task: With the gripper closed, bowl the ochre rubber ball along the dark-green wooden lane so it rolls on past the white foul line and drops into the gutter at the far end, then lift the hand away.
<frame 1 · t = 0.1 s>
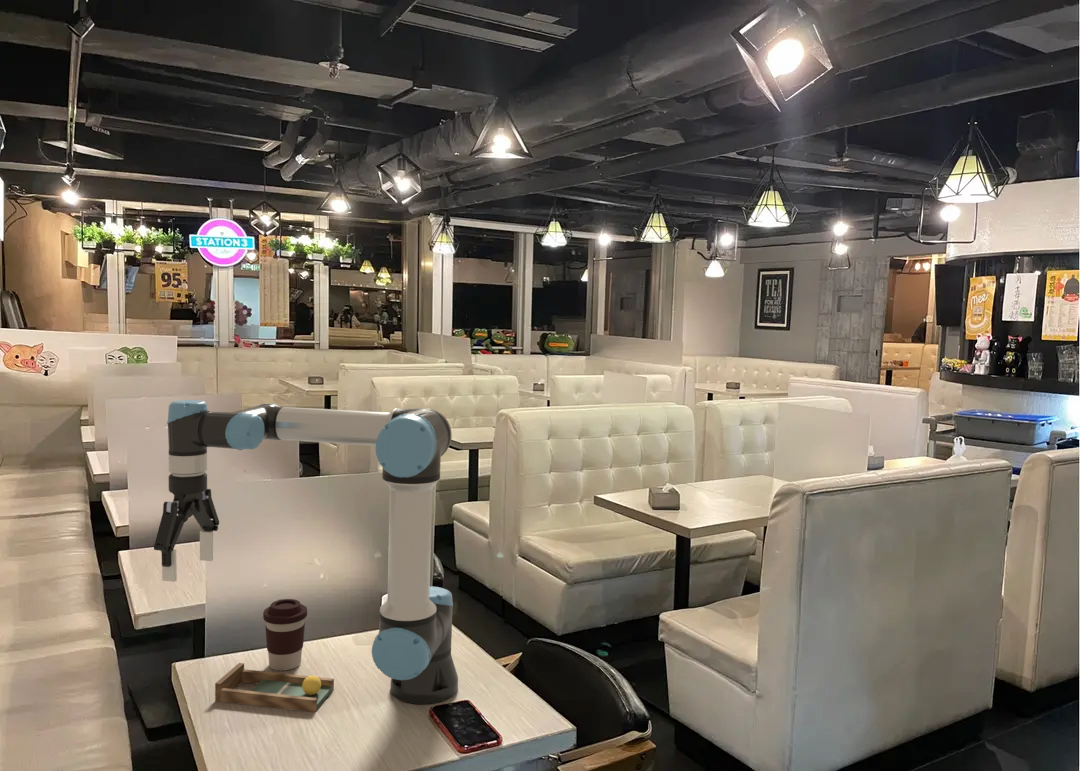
hand: (188, 570, 169), 28 cm above the table, fingers open, 13 cm apart
lane: (277, 695, 173), on the table
ball: (311, 685, 171), point 3 cm above the table, touching lane
coffee cup: (285, 665, 188), on the table
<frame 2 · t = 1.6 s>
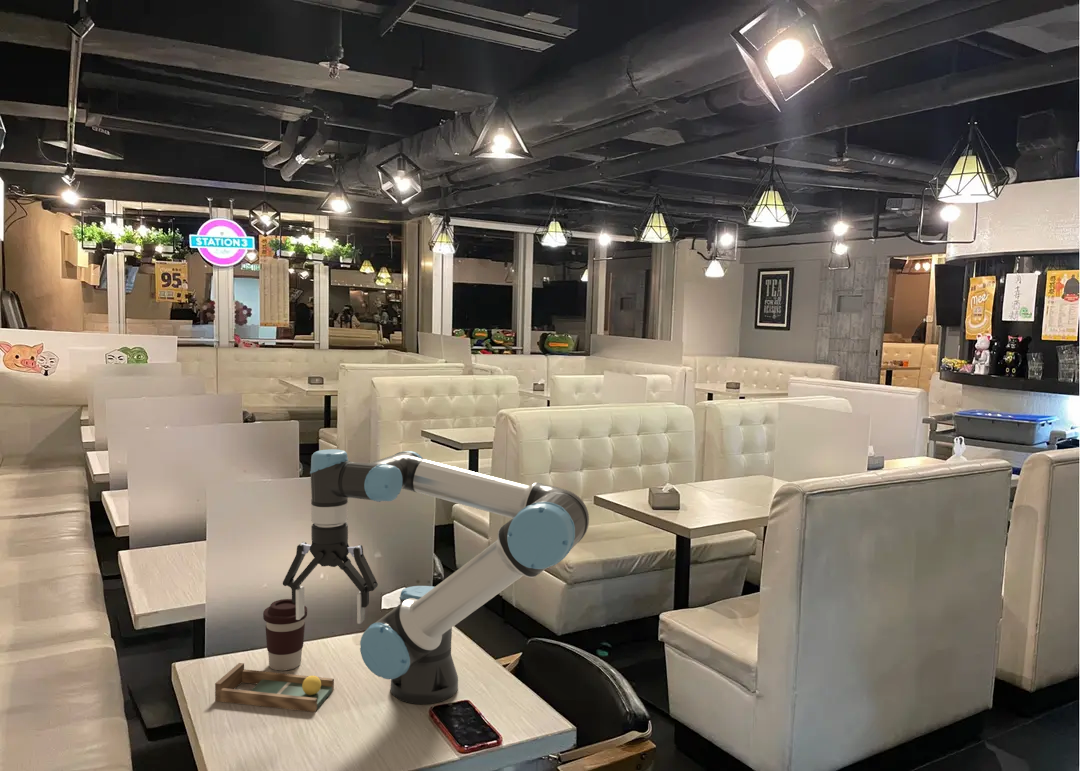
hand: (330, 619, 169), 19 cm above the table, fingers open, 13 cm apart
nothing on the table moved.
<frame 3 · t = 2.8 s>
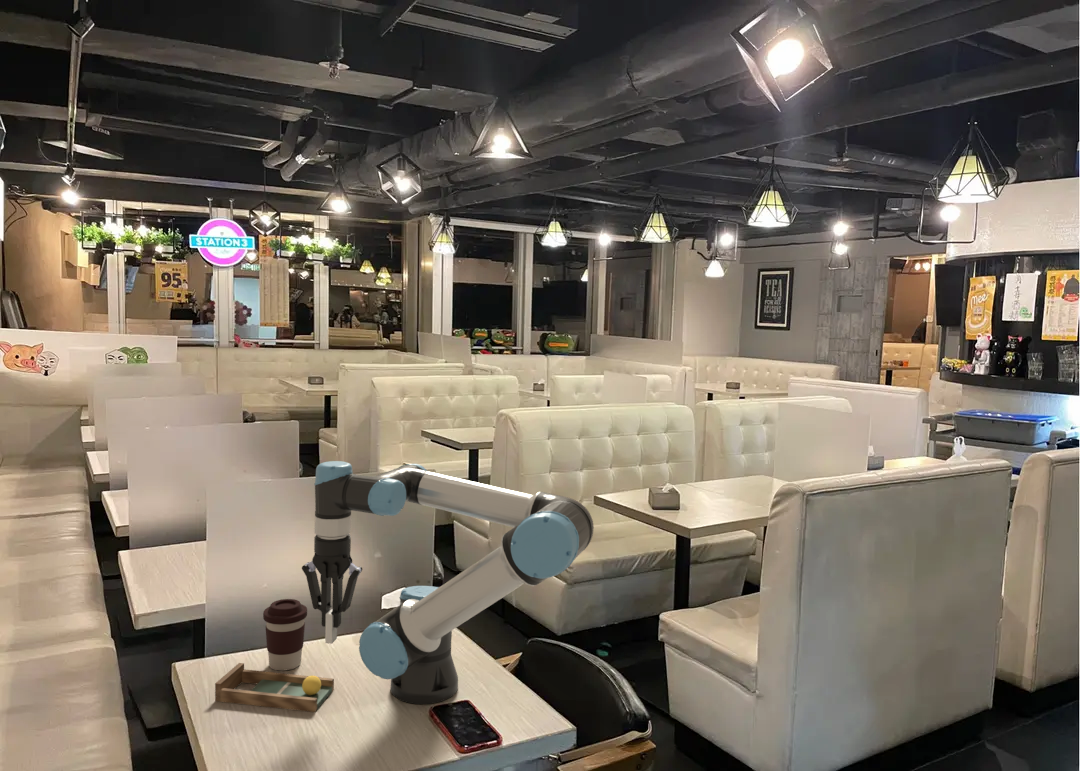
hand: (331, 640, 170), 14 cm above the table, fingers closed
nothing on the table moved.
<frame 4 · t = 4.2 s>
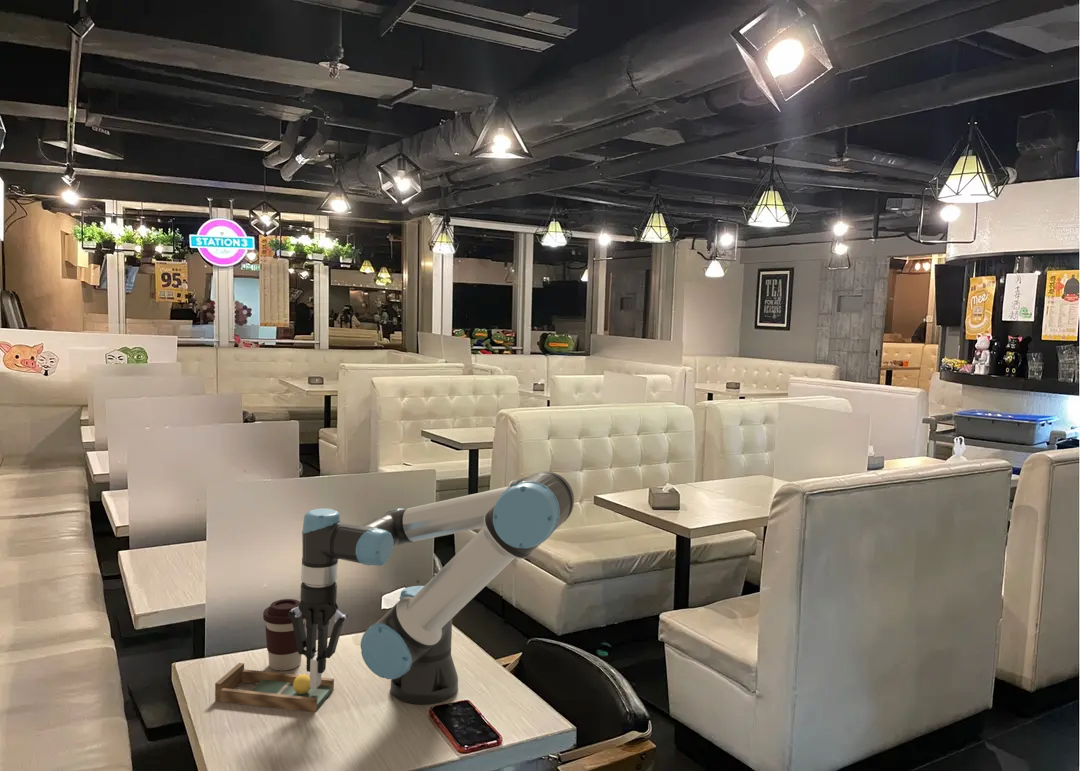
hand: (315, 685, 172), 3 cm above the table, fingers closed
ball: (302, 684, 172), point 3 cm above the table, tilted 56°, touching lane
everything else where it was.
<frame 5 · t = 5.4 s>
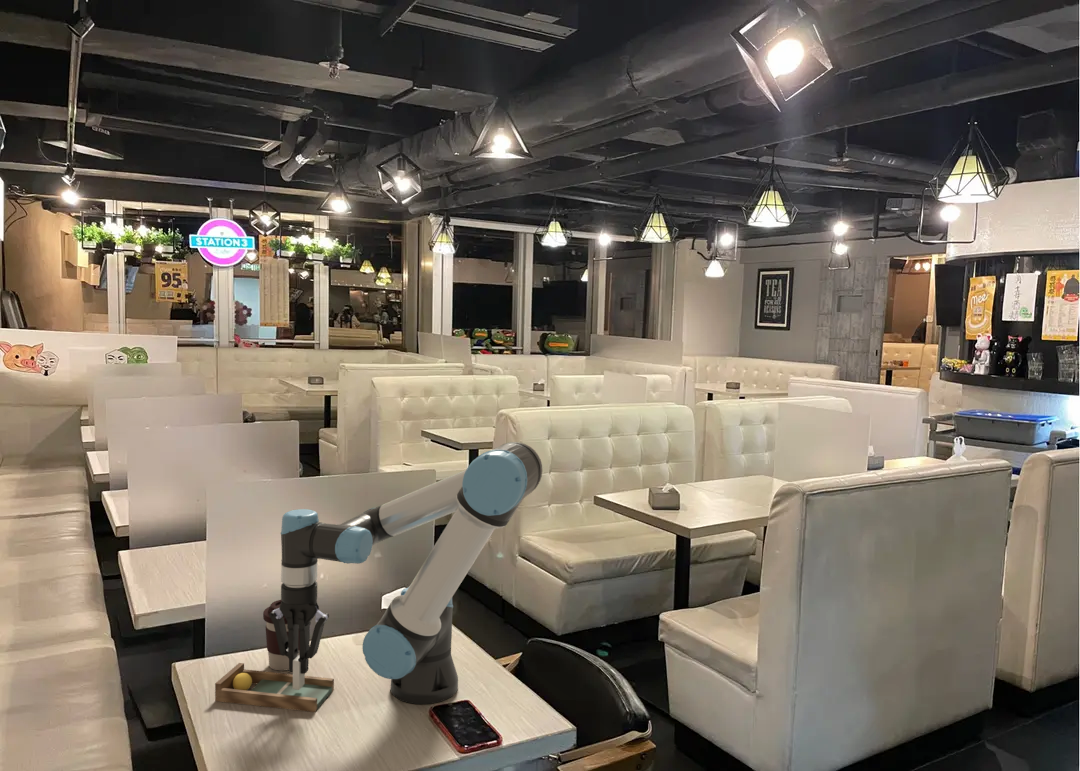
hand: (298, 686, 172), 3 cm above the table, fingers closed
ball: (242, 682, 174), point 2 cm above the table, tilted 127°
everything else where it was.
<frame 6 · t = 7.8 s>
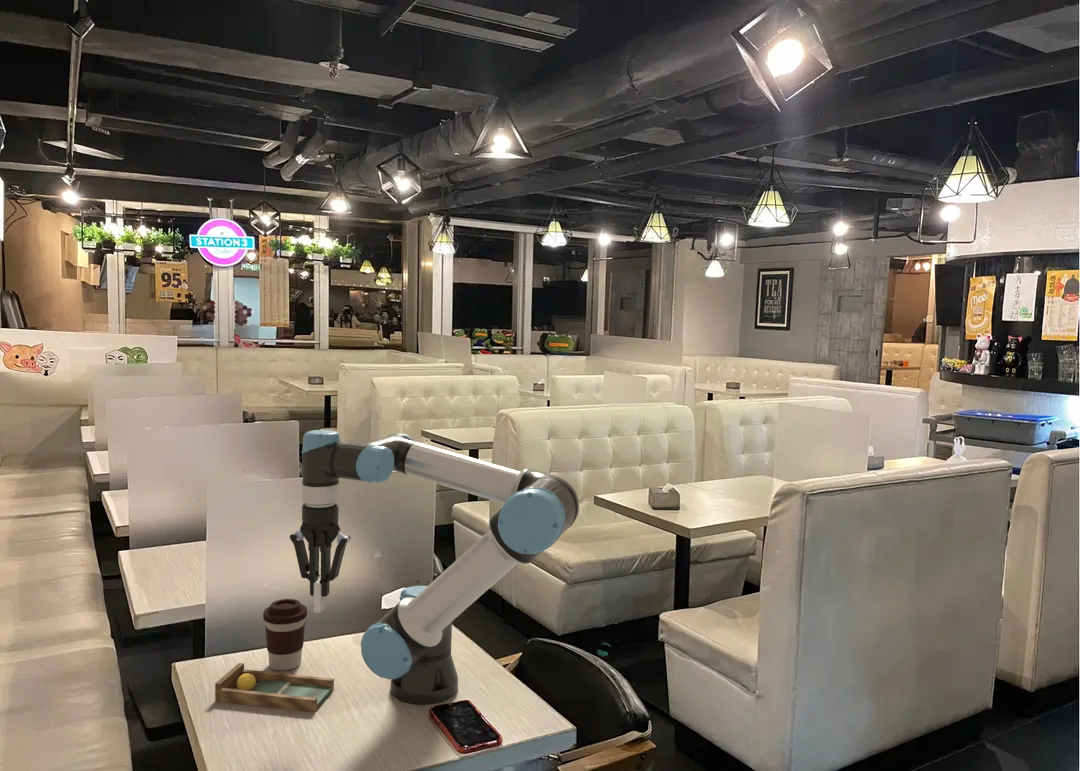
hand: (319, 610, 170), 20 cm above the table, fingers closed
ball: (246, 682, 174), point 2 cm above the table, tilted 101°
everything else where it was.
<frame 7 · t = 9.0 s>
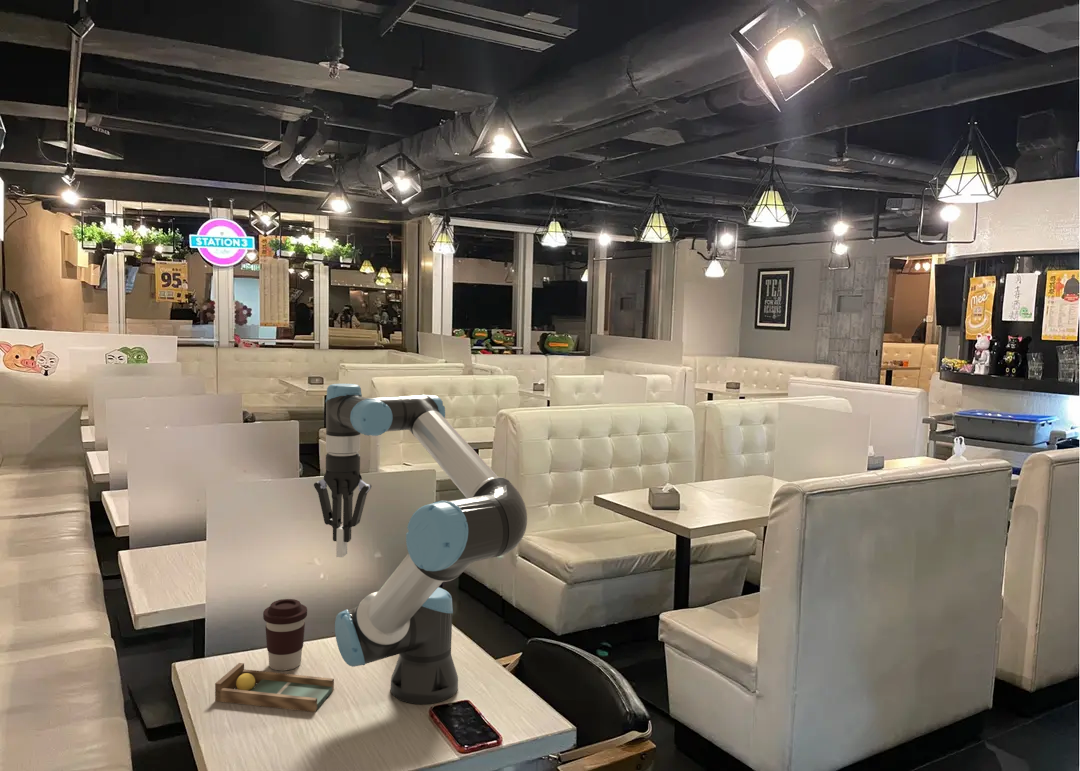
hand: (341, 555, 178), 29 cm above the table, fingers closed
nothing on the table moved.
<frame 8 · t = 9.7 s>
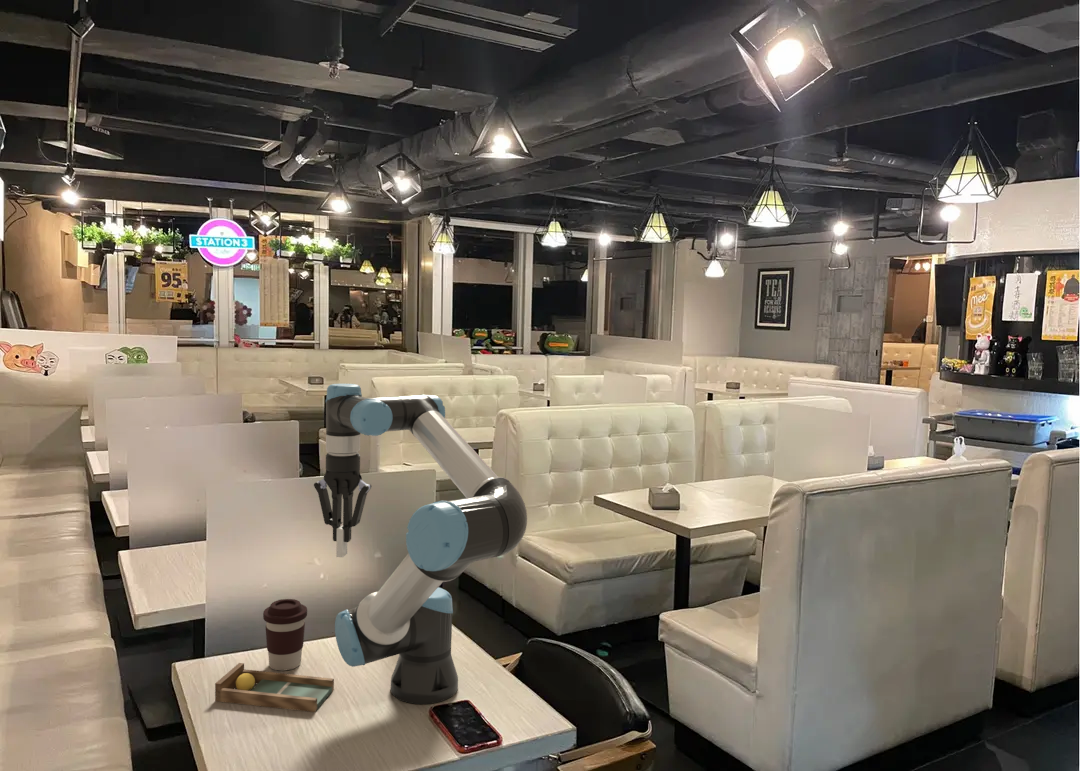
hand: (341, 555, 178), 29 cm above the table, fingers closed
nothing on the table moved.
at the end: ball inside the target area on the lane (2.1 cm from its centre), point 2.0 cm above the lane's base; ball moved 15.7 cm from its start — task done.
